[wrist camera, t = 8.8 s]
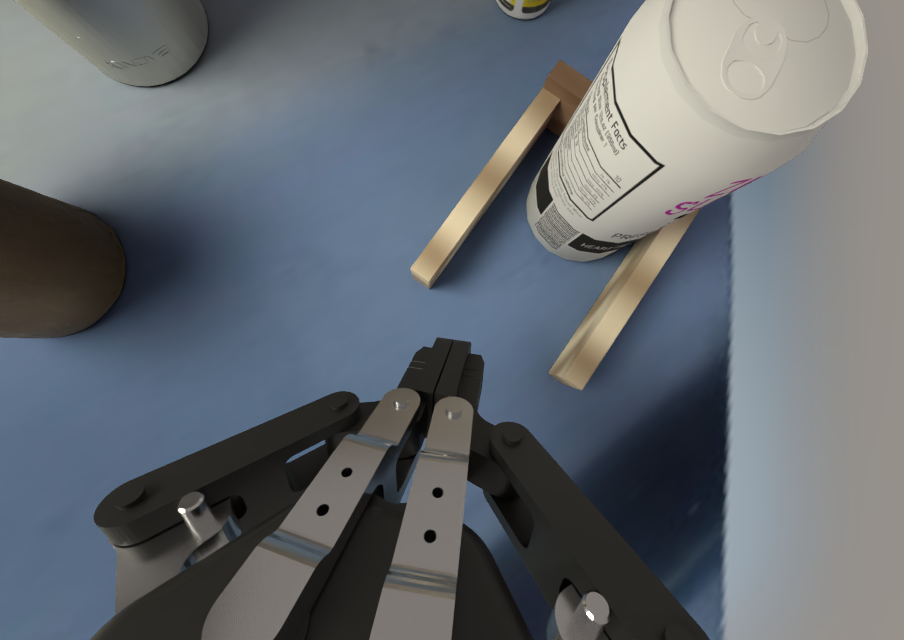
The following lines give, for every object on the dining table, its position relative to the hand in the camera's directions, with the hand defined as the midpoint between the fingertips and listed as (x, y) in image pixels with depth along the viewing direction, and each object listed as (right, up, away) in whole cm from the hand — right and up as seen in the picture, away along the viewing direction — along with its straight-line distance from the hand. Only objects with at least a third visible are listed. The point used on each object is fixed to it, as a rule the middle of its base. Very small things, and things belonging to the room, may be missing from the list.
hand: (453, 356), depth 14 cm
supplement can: (+10, +10, +11) cm, 18 cm away
